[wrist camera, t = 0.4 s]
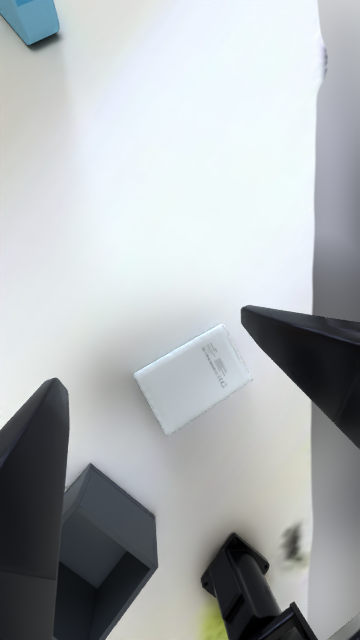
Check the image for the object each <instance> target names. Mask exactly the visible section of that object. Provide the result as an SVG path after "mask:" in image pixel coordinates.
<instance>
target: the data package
mask: <svg viewBox="0 0 360 640" xmlns="http://www.w3.org/2000/svg"><path fill="white" fill-rule="evenodd" d="M0 13H1V15H2V16H3V17H4V18H5V19H6V21H7V22H8V23H9V24H10V25H11V27H12V28H13V29H14V30H15V31H16V33H17V34H18V35H19V36H20V37H21V39H22V40H23V41H24V42H25V43H26V44H28V45H31V44H33V43H35V42H37V41H39V40H41V39H44V38H46V37H48V36H50V35H52V34H54V33H56V32H58V31H59V20H58V16H57V12H56V9H55V5H54V2H53V0H0Z"/></svg>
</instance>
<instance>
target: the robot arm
mask: <svg viewBox="0 0 360 640" xmlns="http://www.w3.org/2000/svg"><path fill="white" fill-rule="evenodd" d="M241 323H242V325H243V327H244V328H245V329H246V330H247V332H248V333H249V334H250V336H251V337H252V338H253V339H254V341H255V342H256V343H257V344H258V346H259V347H260V348H261V349H262V350H263V351H264V352H265V353H266V354H267V355H268V356H269V357H270V358H271V359H272V360H273V361H274V362H275V363H276V364H277V365H278V366H279V367H280V368H281V369H282V370H283V371H284V372H285V373H286V375H287V376H288V377H289V378H290V379H291V380H292V381H293V382H294V383H295V384H296V385H297V386H298V387H299V388H300V389H301V390H302V391H303V392H304V393H305V394H306V395H307V396H308V397H309V398H310V399H311V400H312V401H313V402H314V403H315V404H316V405H317V406H318V407H319V408H320V409H321V410H322V411H323V412H324V413H325V414H326V415H327V416H328V418H329V419H330V420H331V421H332V422H334V424H335V425H336V426H337V427H338V428H339V429H340V430H341V431H342V432H343V433H344V434H345V435H346V436H347V437H348V438H349V439H350V440H351V441H352V442H353V443H354V444H355V445H356V446H357V447H358V448H359V449H360V322H354V321H347V320H340V319H333V318H325V317H320V316H314V315H308V314H302V313H296V312H289V311H283V310H277V309H271V308H265V307H258V306H252V305H247V306H245V307H242V308H241ZM68 442H69V399H68V391H67V389H66V388H65V387H64V385H63V384H62V383H61V382H60V380H59V379H58V378H52V379H50V380H47V381H45V382H44V383H43V384H42V385H41V386H40V387H39V388H38V390H37V391H36V392H35V393H34V394H33V395H32V396H31V397H30V398H29V399H28V400H27V402H26V403H25V404H24V405H23V406H22V407H21V408H20V409H19V410H18V411H17V412H16V414H15V415H14V416H13V417H12V418H11V419H10V420H9V421H8V422H7V423H6V424H5V426H4V427H3V428H2V429H1V430H0V640H52V639H53V627H54V615H55V603H56V590H57V576H58V564H59V551H60V539H61V527H62V515H63V503H64V490H65V478H66V466H67V454H68ZM268 569H269V563H268V561H267V560H266V559H265V558H264V557H263V556H262V555H261V554H259V553H258V552H257V551H256V550H255V549H253V548H252V547H251V546H250V545H249V544H248V543H246V542H245V541H244V540H243V539H242V538H240V537H239V536H238V535H237V534H235V533H233V534H232V535H231V536H230V537H229V539H228V540H227V542H226V543H225V544H224V546H223V547H222V549H221V550H220V552H219V553H218V555H217V556H216V558H215V559H214V561H213V562H212V563H211V565H210V566H209V568H208V569H207V571H206V572H205V574H204V575H203V577H202V578H201V583H202V587H203V588H204V589H205V590H207V591H208V592H209V593H210V594H212V595H213V596H214V597H215V598H217V601H218V605H219V609H220V612H221V616H222V619H223V621H224V624H225V628H226V632H227V635H228V639H229V640H318V639H317V638H316V636H315V635H314V633H313V631H312V630H311V628H310V626H309V625H308V623H307V621H306V620H305V618H304V617H303V615H302V613H301V612H300V610H299V608H298V607H297V605H296V604H295V602H292V603H291V604H290V607H288V608H287V609H286V610H285V611H283V612H281V610H280V608H279V606H278V604H277V602H276V600H275V598H274V595H273V593H272V591H271V589H270V587H269V585H268V583H267V581H266V579H265V577H264V575H265V574H266V572H267V571H268ZM328 640H360V612H359V613H358V614H357V615H356V616H355V617H354V618H352V619H351V620H350V621H349V622H348V623H346V624H345V625H344V626H343V627H342V628H341V629H339V630H338V631H337V632H336V633H335V634H334V635H332V636H331V637H330V638H329V639H328Z"/></svg>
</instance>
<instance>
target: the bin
mask: <svg viewBox="0 0 360 640" xmlns="http://www.w3.org/2000/svg"><path fill="white" fill-rule="evenodd" d="M157 568H158V557H157V540H156V522H155V516H154V515H153V514H152V513H150V512H149V511H148V510H147V509H145V508H144V507H143V506H142V505H141V504H139V503H138V502H137V501H136V500H134V499H133V498H132V497H131V496H130V495H128V494H127V493H126V492H125V491H123V490H122V489H121V488H120V487H118V486H117V485H116V484H115V483H114V482H112V481H111V480H110V479H109V478H107V477H106V476H105V475H104V474H103V473H101V472H100V471H99V470H98V469H96V468H95V467H94V466H93V465H91V464H90V465H89V466H88V467H87V468H86V469H85V471H84V472H83V473H82V474H81V475H80V476H79V477H78V478H77V480H76V481H75V482H74V483H73V484H72V485H71V486H70V488H69V489H68V490H67V491H66V492H65V493H64V503H63V515H62V527H61V539H60V551H59V564H58V576H57V590H56V603H55V615H54V627H53V639H52V640H105V639H106V638H107V636H108V635H109V634H110V632H111V631H112V629H113V628H114V627H115V625H116V624H117V623H118V621H119V620H120V619H121V617H122V616H123V614H124V613H125V612H126V610H127V609H128V608H129V606H130V605H131V604H132V602H133V601H134V599H135V598H136V597H137V595H138V594H139V593H140V591H141V590H142V588H143V587H144V586H145V584H146V583H147V582H148V580H149V579H150V578H151V576H152V575H153V573H154V572H155V571H156V569H157Z"/></svg>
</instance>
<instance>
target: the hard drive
mask: <svg viewBox="0 0 360 640" xmlns="http://www.w3.org/2000/svg"><path fill="white" fill-rule="evenodd" d="M134 378H135V380H136V381H137V383H138V385H139V387H140V389H141V391H142V392H143V394H144V396H145V398H146V400H147V401H148V403H149V405H150V407H151V409H152V411H153V412H154V414H155V416H156V418H157V420H158V422H159V423H160V425H161V427H162V429H163V431H164V432H165V434H166V436H167V437H168V436H170V435H171V434H173V433H174V432H176V431H177V430H179V429H180V428H182V427H183V426H185V425H186V424H188V423H189V422H191V421H192V420H194V419H195V418H197V417H198V416H200V415H201V414H203V413H204V412H206V411H207V410H209V409H210V408H212V407H213V406H215V405H216V404H218V403H219V402H220V401H222V400H223V399H225V398H226V397H228V396H229V395H231V394H232V393H234V392H235V391H237V390H238V389H240V388H241V387H243V386H244V385H246V384H247V383H249V382H250V381H252V377H251V375H250V373H249V371H248V369H247V368H246V366H245V364H244V362H243V360H242V358H241V356H240V354H239V352H238V351H237V349H236V347H235V345H234V343H233V341H232V339H231V337H230V335H229V333H228V332H227V330H226V328H225V326H224V325H223V324H219V325H218V326H216V327H214V328H213V329H210V330H209V331H207V332H205V333H204V334H202V335H200V336H198V337H197V338H195V339H193V340H191V341H190V342H188V343H186V344H184V345H183V346H181V347H179V348H177V349H176V350H174V351H172V352H171V353H169V354H167V355H165V356H164V357H162V358H160V359H158V360H157V361H155V362H153V363H152V364H150V365H148V366H146V367H144V368H143V369H141V370H139V371H137V372H136V373H134Z"/></svg>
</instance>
